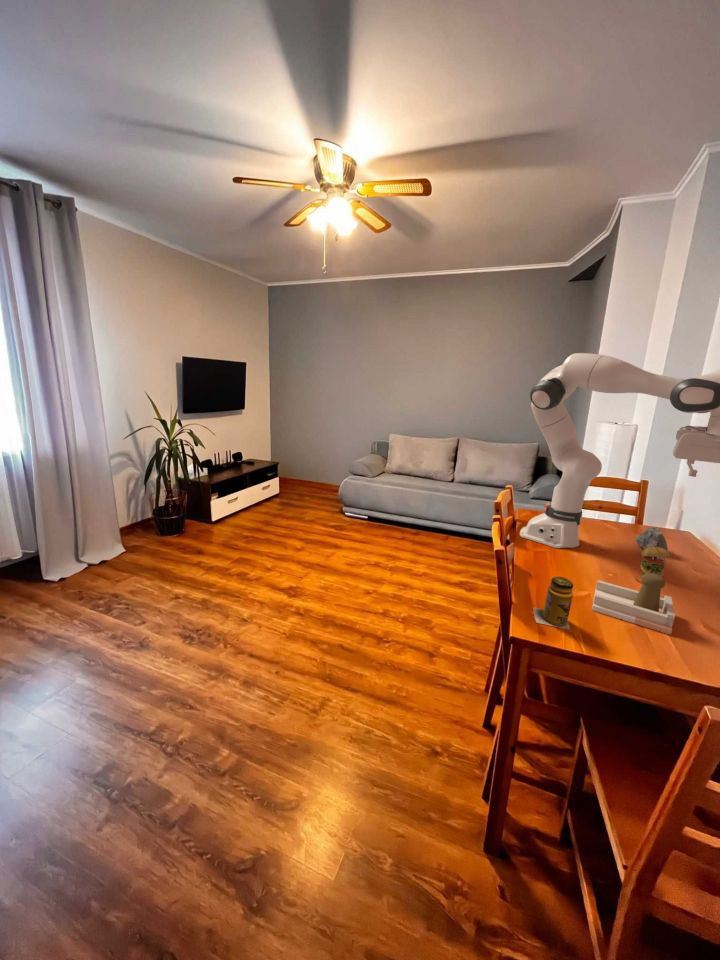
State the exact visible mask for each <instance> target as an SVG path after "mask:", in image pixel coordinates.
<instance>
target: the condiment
mask: <svg viewBox="0 0 720 960" xmlns="http://www.w3.org/2000/svg"><path fill="white" fill-rule="evenodd" d="M549 584H550V585H549V586H548V588H547V592H546V598H545V602H544V609H543V608H542V609H541V608H539V607H532V608H533V609H532V610H533V614H534V615H533V616H534V620H535V622H536V623H537V624H540V625H545V626H546V625H547V626H551V627H555V628H560V629H564V630H571V626H570V624H569V621H568V620H569V615H570V610H571V606H572V601H573V597H574V592H573V587H574V584H573V581H571V580H570V579H568V578H567V577H563V576H553V577H552V578H551V581H550V583H549Z"/></svg>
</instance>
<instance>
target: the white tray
mask: <svg viewBox="0 0 720 960" xmlns="http://www.w3.org/2000/svg"><path fill="white" fill-rule="evenodd" d="M639 591H640V590H635V589H632V588H628V587H625V586H621V585H616V584H614V583H611V582H606V581H603V580H599V579H597V581H596V585H595V591H594V596H593V601H592V602H593V603H592V608H591V611H593V612H596V613H599V614H602V615H606V616H609V617H612V618H616V619H618V620H621V619H622V620H621V621H625V622H629V623H631V624H634V625H638V626H641V627H644V628H648V629H651V630H653V631H656V630H657V632H659V631H660V633H662V634H667V635H669V634H670V635H669V636H671V635H672V634H673V633H672V632H673V625H674V622H675V618H676V614H675V613H676V612H675V609H674V604H673V600H672V596H670V595H664V596H663V597H661V596H660V603H659V612H656V611H652V610H649V609H645V608H642V607H639V606H635V605H633V604H634V602H635V599H636V597H637V595H638V593H639Z"/></svg>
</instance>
